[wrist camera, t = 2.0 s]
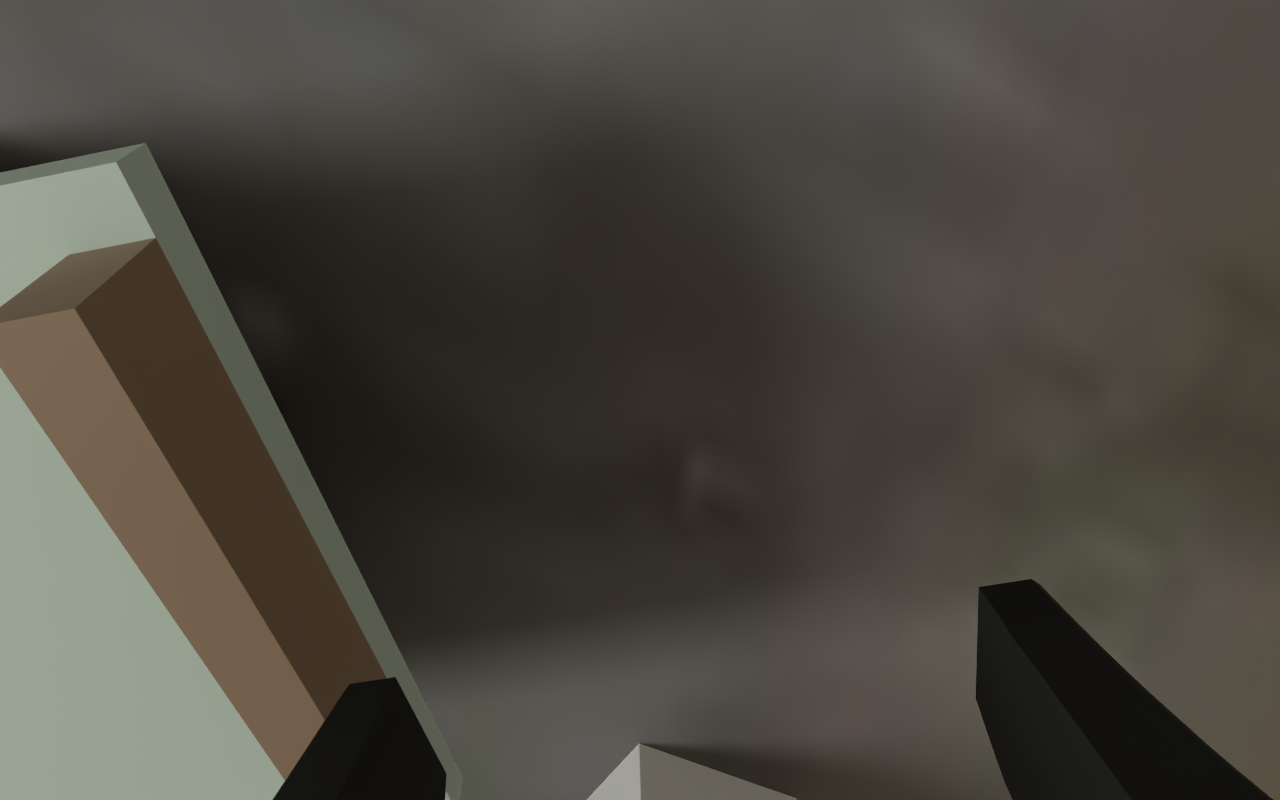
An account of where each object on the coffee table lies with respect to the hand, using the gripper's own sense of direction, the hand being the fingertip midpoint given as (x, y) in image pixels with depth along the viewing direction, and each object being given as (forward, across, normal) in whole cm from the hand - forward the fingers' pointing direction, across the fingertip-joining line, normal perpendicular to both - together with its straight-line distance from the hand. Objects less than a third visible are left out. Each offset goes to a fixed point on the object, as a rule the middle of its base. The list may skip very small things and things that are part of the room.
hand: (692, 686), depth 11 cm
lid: (+4, +12, 0) cm, 13 cm away
